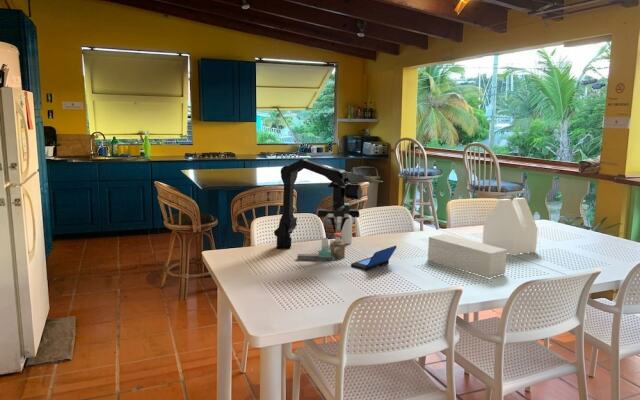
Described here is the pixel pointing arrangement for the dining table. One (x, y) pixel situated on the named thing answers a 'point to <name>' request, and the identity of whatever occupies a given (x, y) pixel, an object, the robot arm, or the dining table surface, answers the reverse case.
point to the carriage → (324, 249)
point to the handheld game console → (375, 259)
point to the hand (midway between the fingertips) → (337, 231)
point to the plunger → (337, 237)
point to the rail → (314, 257)
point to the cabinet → (337, 249)
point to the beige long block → (467, 255)
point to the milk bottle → (345, 229)
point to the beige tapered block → (511, 227)
